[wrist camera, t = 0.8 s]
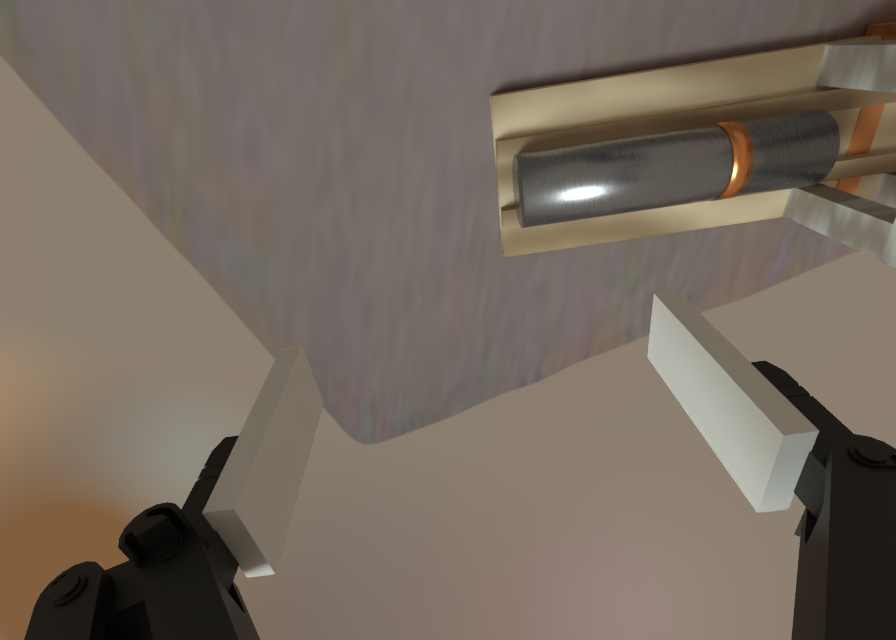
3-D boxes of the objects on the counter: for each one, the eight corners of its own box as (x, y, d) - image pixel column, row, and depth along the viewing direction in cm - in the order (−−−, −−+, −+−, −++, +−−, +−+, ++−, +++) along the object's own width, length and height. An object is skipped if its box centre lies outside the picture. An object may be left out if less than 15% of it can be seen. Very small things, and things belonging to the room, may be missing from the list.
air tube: (514, 215, 35) (527, 239, 31) (510, 147, 32) (523, 162, 28) (775, 177, 34) (826, 195, 30) (792, 103, 32) (851, 112, 27)
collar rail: (488, 85, 32) (518, 102, 22) (981, 7, 31) (1256, -14, 20) (502, 251, 38) (529, 324, 28) (909, 192, 37) (1091, 246, 27)
